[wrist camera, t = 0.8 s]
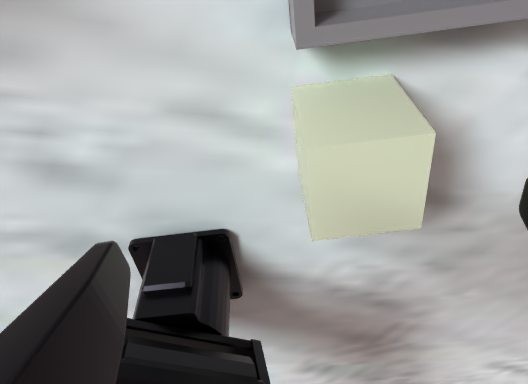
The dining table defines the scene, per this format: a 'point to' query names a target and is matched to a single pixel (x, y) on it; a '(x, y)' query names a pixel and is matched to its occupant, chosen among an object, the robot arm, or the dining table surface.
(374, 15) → the tray
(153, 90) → the dining table surface
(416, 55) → the dining table surface
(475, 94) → the dining table surface
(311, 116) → the green block
